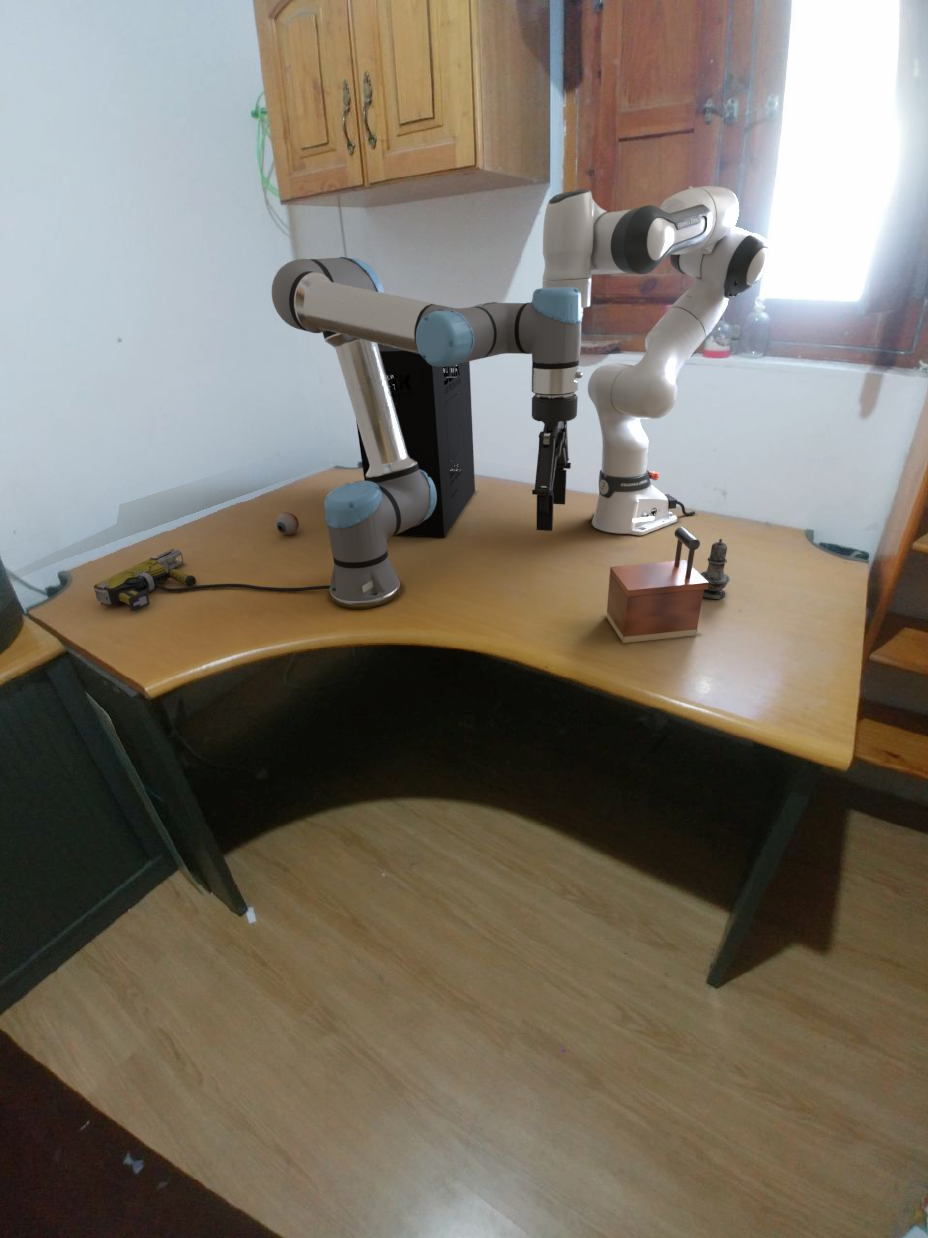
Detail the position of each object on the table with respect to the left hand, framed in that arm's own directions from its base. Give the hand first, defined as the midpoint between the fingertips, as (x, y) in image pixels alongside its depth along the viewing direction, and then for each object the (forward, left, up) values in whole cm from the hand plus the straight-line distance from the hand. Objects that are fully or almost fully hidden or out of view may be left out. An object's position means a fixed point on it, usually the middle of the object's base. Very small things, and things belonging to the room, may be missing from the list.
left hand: (551, 516), depth 110 cm
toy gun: (-89, -9, -21) cm, 92 cm away
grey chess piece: (+30, +16, -21) cm, 40 cm away
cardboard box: (-46, +51, -21) cm, 72 cm away
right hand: (-2, +21, +21) cm, 30 cm away
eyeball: (-77, +27, -21) cm, 85 cm away
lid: (+20, 0, -11) cm, 23 cm away
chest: (+19, 0, -21) cm, 28 cm away
